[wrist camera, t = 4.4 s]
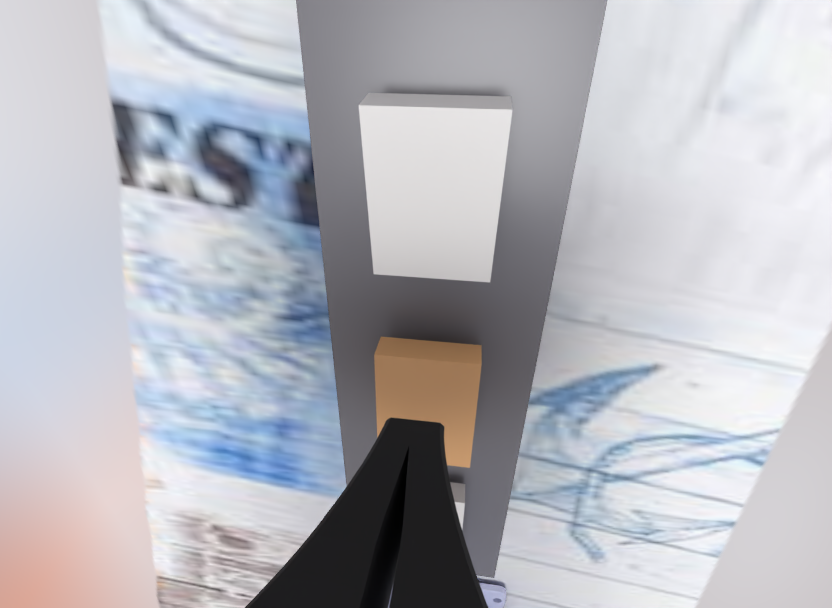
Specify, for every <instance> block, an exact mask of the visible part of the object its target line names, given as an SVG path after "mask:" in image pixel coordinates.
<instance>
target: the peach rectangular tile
mask: <svg viewBox="0 0 832 608" xmlns="http://www.w3.org/2000/svg"><path fill="white" fill-rule="evenodd" d="M374 364H375V390H376V416H377V438H378V436H379V434H380V432H381V430H382V428H383V426H384V424H385V422H386V420H388V419H389V418H391V417H392V418H401V419H411V420H420V421H429V422H439V423H441V424H442V425H443V426H444V444H445V454H446V461H447V465H450V466H458V467H467V468H470V462H471V454H472V445H473V436H474V427H475V418H476V410H477V401H478V392H479V383H480V374H481V366H482V350H481V345H473V344H461V343H450V342H438V341H426V340H415V339H403V338H392V337H380V340H379V343H378V346H377V348H376V351H375V354H374Z"/></svg>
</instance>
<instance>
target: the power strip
mask: <svg viewBox="0 0 832 608" xmlns="http://www.w3.org/2000/svg"><path fill="white" fill-rule="evenodd" d="M296 4H297V14H298V23H299V33H300V42H301V52H302V62H303V71H304V81H305V90H306V100H307V110H308V119H309V129H310V138H311V148H312V158H313V167H314V177H315V186H316V196H317V206H318V215H319V225H320V234H321V244H322V254H323V263H324V273H325V282H326V292H327V302H328V311H329V321H330V330H331V340H332V350H333V359H334V369H335V378H336V388H337V397H338V407H339V417H340V426H341V436H342V445H343V455H344V465H345V474H346V484H347V486H348V484H349V483H350V481H351V480H352V478H353V477H354V475H355V474H356V472H357V471H358V469H359V468H360V466H361V465H362V463H363V461H364V460H365V458H366V457H367V455H368V453H369V452H370V450H371V448H372V447H373V445H374V443H375V441H376V440H377V416H376V390H375V364H374V354H375V351H376V348H377V346H378V343H379V340H380V337H392V338H403V339H415V340H426V341H438V342H450V343H461V344H473V345H481V350H482V366H481V374H480V383H479V392H478V401H477V410H476V418H475V427H474V436H473V445H472V454H471V462H470V468H467V467H458V466H450V465H447V468H448V474H449V479H450V482H453V483H461V484H465V508H464V518H463V528H462V531H463V535H464V538H465V542H466V545H467V548H468V551H469V554H470V558H471V561H472V564H473V567H474V570H475V573H476V575H479V576H486V577H493V578H494V575H495V570H496V565H497V560H498V555H499V550H500V545H501V540H502V535H503V530H504V524H505V519H506V514H507V509H508V504H509V499H510V494H511V489H512V484H513V479H514V474H515V468H516V463H517V458H518V453H519V448H520V443H521V438H522V433H523V428H524V423H525V417H526V412H527V407H528V402H529V397H530V392H531V387H532V382H533V377H534V372H535V366H536V361H537V356H538V351H539V346H540V341H541V336H542V331H543V326H544V321H545V316H546V310H547V305H548V300H549V295H550V290H551V285H552V280H553V275H554V270H555V265H556V259H557V254H558V249H559V244H560V239H561V234H562V229H563V224H564V219H565V214H566V208H567V203H568V198H569V193H570V188H571V183H572V178H573V173H574V168H575V163H576V158H577V152H578V147H579V142H580V137H581V132H582V127H583V122H584V117H585V112H586V107H587V101H588V96H589V91H590V86H591V81H592V76H593V71H594V66H595V61H596V56H597V50H598V45H599V40H600V35H601V30H602V25H603V20H604V15H605V10H606V5H607V0H296ZM368 93H398V94H436V95H475V96H511V102H512V109H513V110H512V118H511V126H510V133H509V141H508V149H507V156H506V164H505V172H504V179H503V187H502V195H501V203H500V210H499V218H498V226H497V233H496V241H495V249H494V256H493V264H492V272H491V280H490V282H476V281H462V280H448V279H434V278H420V277H406V276H392V275H378V274H374V273H373V261H372V250H371V239H370V228H369V217H368V206H367V194H366V183H365V172H364V161H363V150H362V139H361V127H360V116H359V104H360V103H361V102H362V100H363V99H364V98H365V97H366V95H367V94H368Z"/></svg>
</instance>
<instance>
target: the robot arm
mask: <svg viewBox="0 0 832 608" xmlns="http://www.w3.org/2000/svg"><path fill="white" fill-rule="evenodd" d="M505 601H506V589H505V588H504V587H502V586H499V585H492V584H485V583H479V581H478V578H477V576H476V573H475V570H474V567H473V564H472V561H471V558H470V554H469V551H468V548H467V545H466V542H465V538H464V535H463V531H462V528H461V525H460V521H459V517H458V513H457V510H456V505H455V501H454V497H453V493H452V488H451V484H450V479H449V474H448V468H447V461H446V454H445V444H444V426H443V425H442V424H441V423H439V422H429V421H420V420H411V419H401V418H392V417H391V418H389V419H388V420H386V422H385V424H384V426H383V428H382V430H381V432H380V434H379V436H378V438H377V440H376V441H375V443H374V445H373V447H372V448H371V450H370V452H369V453H368V455H367V457H366V458H365V460H364V461H363V463H362V465H361V466H360V468H359V469H358V471H357V472H356V474H355V475H354V477H353V478H352V480H351V481H350V483H349V484H348V486H347V487H346V489H345V490H344V491H343V493H342V494H341V496H340V497H339V498H338V500H337V501H336V502H335V504H334V505H333V506H332V508H331V509H330V510H329V512H328V513H327V514H326V516H325V517H324V518H323V520H322V521H321V522H320V524H319V525H318V526H317V527H316V529H315V530H314V531H313V532H312V534H311V535H310V536H309V537H308V539H307V540H306V541H305V542H304V543H303V545H302V546H301V547H300V548H299V549H298V550H297V552H296V553H295V554H294V555H293V556H292V557H291V559H290V560H289V561H288V562H287V563H286V564H285V565H284V567H283V568H282V569H281V570H280V571H279V572H278V573H277V574H276V575H275V576H274V577H273V578H272V580H271V581H270V582H269V583H268V584H267V585H266V586H265V587H264V588H263V589H262V590H261V591H260V592H259V594H258V595H257V596H256V597H255V598H254V599H253V600H252V601H251V602H250V603H249V604H248V605H247V606H246V607H245V608H504V605H505Z"/></svg>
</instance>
